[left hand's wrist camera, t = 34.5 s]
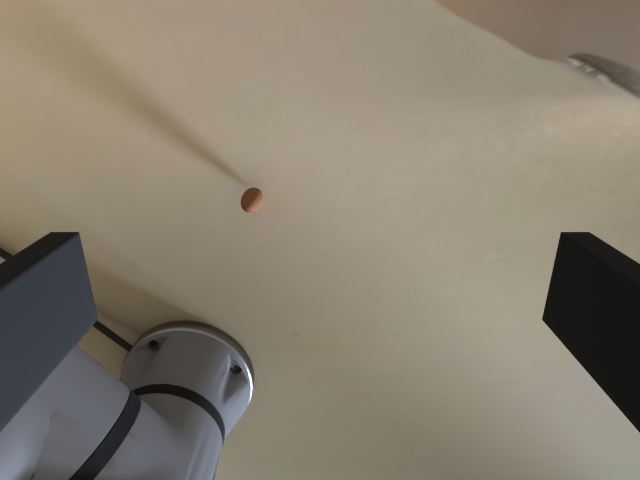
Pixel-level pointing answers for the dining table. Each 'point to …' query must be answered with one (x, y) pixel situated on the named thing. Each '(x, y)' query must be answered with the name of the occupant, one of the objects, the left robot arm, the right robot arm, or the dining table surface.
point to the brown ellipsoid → (252, 200)
